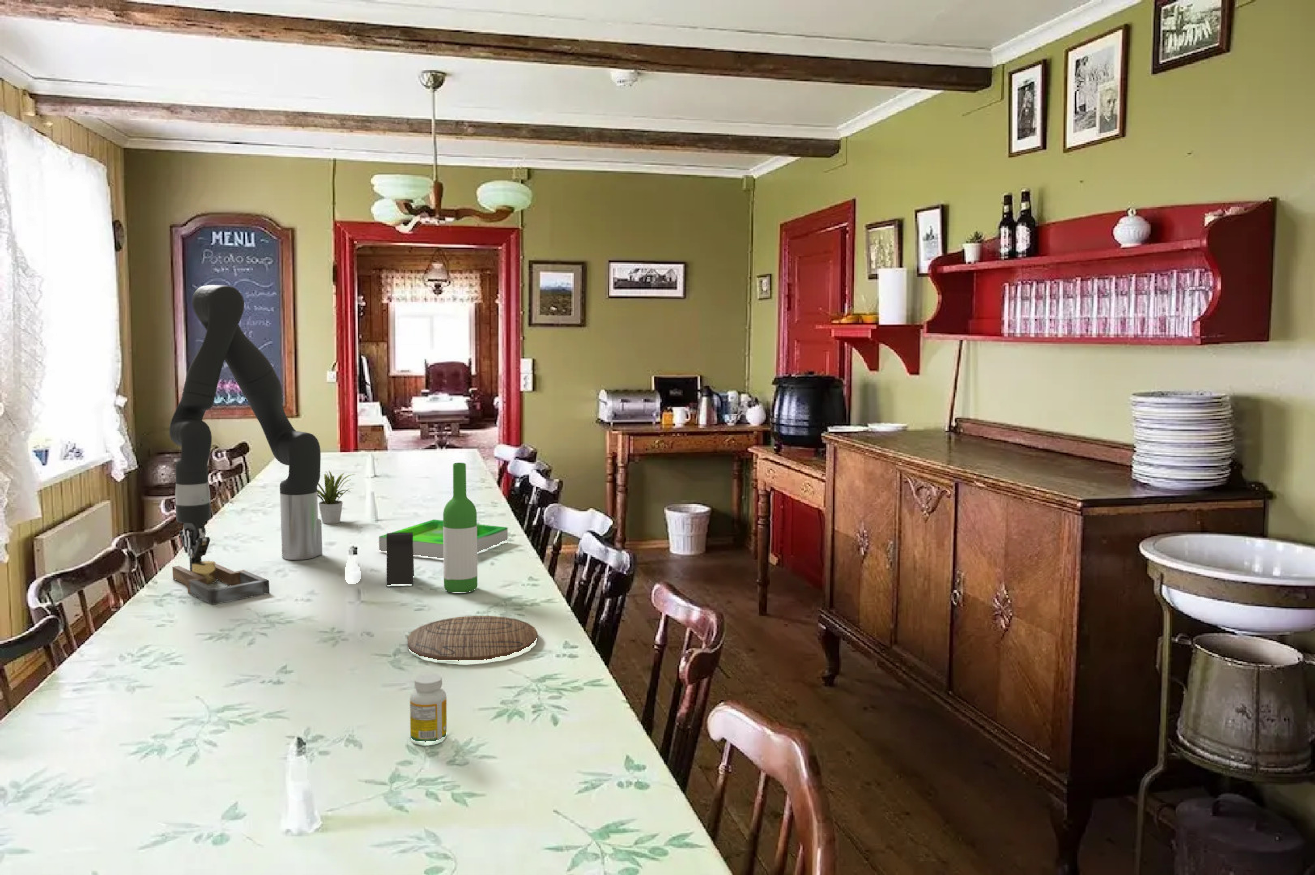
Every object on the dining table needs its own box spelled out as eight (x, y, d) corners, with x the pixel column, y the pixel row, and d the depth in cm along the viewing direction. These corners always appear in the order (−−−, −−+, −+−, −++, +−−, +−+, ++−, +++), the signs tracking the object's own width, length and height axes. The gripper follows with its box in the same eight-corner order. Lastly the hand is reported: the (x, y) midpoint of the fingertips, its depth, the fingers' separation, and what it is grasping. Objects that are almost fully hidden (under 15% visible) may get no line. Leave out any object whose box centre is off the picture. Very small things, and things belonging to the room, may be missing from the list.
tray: (379, 554, 259) (379, 536, 258) (433, 536, 282) (433, 519, 281) (457, 564, 250) (457, 545, 249) (507, 544, 273) (507, 527, 272)
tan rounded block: (210, 578, 231) (209, 559, 231) (219, 582, 228) (218, 563, 227) (189, 582, 228) (188, 563, 227) (198, 586, 224) (197, 567, 224)
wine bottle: (469, 596, 219) (468, 466, 216) (438, 593, 221) (436, 465, 217) (482, 587, 227) (481, 461, 223) (452, 584, 229) (450, 460, 225)
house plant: (368, 521, 298) (367, 469, 296) (332, 529, 287) (330, 475, 285) (338, 515, 306) (336, 465, 304) (301, 523, 294) (299, 470, 292)
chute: (218, 570, 238) (218, 559, 238) (269, 593, 219) (268, 580, 219) (163, 580, 229) (162, 568, 228) (211, 604, 210) (211, 591, 210)
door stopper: (412, 586, 227) (411, 537, 225) (386, 587, 225) (385, 537, 224) (414, 576, 235) (413, 528, 234) (389, 577, 234) (388, 529, 233)
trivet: (540, 664, 178) (540, 654, 178) (401, 670, 174) (401, 660, 173) (535, 622, 202) (535, 613, 202) (413, 626, 198) (413, 618, 198)
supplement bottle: (424, 750, 141) (423, 687, 139) (403, 740, 144) (402, 678, 143) (454, 739, 145) (453, 677, 144) (432, 729, 148) (431, 669, 147)
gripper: (220, 503, 227) (223, 574, 229) (198, 495, 236) (201, 564, 238) (187, 507, 222) (190, 580, 224) (166, 499, 231) (169, 569, 233)
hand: (195, 571), depth 231 cm, fingers closed
